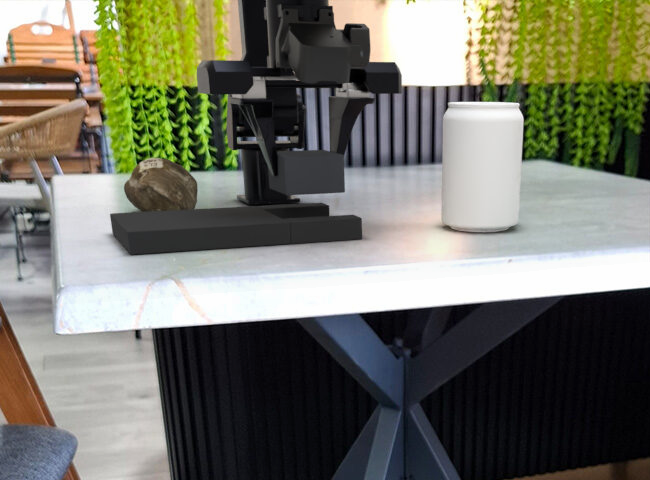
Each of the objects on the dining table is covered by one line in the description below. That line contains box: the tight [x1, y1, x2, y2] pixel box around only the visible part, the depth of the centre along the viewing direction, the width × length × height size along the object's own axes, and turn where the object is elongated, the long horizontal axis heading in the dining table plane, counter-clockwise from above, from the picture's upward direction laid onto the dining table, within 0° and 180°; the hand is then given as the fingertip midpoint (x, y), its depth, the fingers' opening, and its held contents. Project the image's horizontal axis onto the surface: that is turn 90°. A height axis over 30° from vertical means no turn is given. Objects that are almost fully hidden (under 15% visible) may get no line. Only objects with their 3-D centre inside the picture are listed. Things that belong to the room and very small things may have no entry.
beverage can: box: [440, 101, 525, 233], centre depth 92 cm, size 8×8×12 cm
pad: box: [268, 149, 346, 196], centre depth 88 cm, size 6×6×4 cm
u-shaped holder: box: [109, 202, 363, 256], centre depth 88 cm, size 12×22×2 cm, turn 114°
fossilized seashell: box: [123, 157, 199, 212], centre depth 100 cm, size 8×7×10 cm
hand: (305, 174), depth 89 cm, fingers closed on pad, 6 cm apart
